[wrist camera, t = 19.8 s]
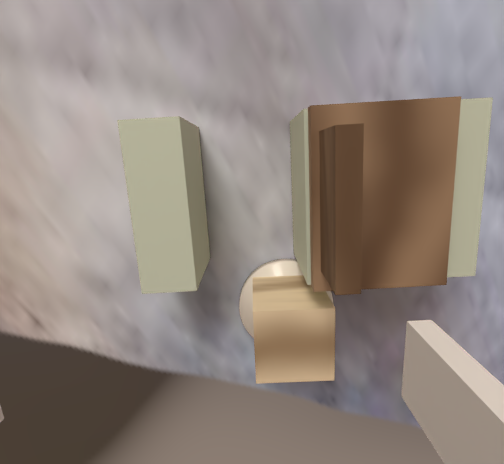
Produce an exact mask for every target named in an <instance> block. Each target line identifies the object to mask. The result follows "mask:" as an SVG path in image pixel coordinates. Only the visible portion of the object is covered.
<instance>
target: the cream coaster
mask: <svg viewBox="0 0 504 464" xmlns="http://www.w3.org/2000/svg"><path fill="white" fill-rule="evenodd" d="M297 275H303V273H302V271H301V269H300V266H299V264H298V262H297V260H295V259H277V260H273V261H270V262H267V263H265V264H263V265H261V266H260V267H258V268H257V269H255V270H254V271H253V272H252V273H251V274H250V275H249V277H248V278H247V280H246V281H245V283H244V285H243V287H242V290H241V294H240V302H239V311H240V317H241V320H242V323H243V325H244V327H245V328H246V330H247V331H248V333H249V334H250V335H251V336H252V337H253V338H254V326H253V277H273V276H297ZM326 292H327V294H328V296H329V298H330V300H331V301H332V303H333V297H332V293H331V291H326Z"/></svg>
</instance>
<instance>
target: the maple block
mask: <svg viewBox="0 0 504 464" xmlns="http://www.w3.org/2000/svg"><path fill="white" fill-rule="evenodd" d="M253 326H254V347H255V368H256V383H281V382H306V381H331V380H334V371H335V307H334V305H333V303H332V301H331V300H330V298H329V296H328V294H327V292H326V291H321V292H313V289H312V287H311V285H307V283H306V280H305V278H304V276H303V275H297V276H273V277H253Z"/></svg>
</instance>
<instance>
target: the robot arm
mask: <svg viewBox="0 0 504 464" xmlns="http://www.w3.org/2000/svg"><path fill="white" fill-rule="evenodd" d="M402 398H403V399H404V401H405V403H406V404H407V406H408V407H409V409H410V410H411V412H412V414H413V415H414V417H415V418H416V420H417V421H418V423H419V425H420V426H421V428H422V429H423V431H424V432H425V434H426V435H427V437H428V439H429V440H430V442H431V443H432V445H433V447H434V448H435V450H436V451H437V453H438V454H439V456H440V458H441V459H442V461H443V462H444V464H504V385H502V384H501V383H500V382H499V381H498V380H497V379H496V378H495V377H494V376H493V375H491V374H490V373H489V372H488V371H487V370H486V369H485V368H484V367H483V366H482V365H480V364H479V363H478V362H477V361H476V360H475V359H474V358H473V357H472V356H471V355H469V354H468V353H467V352H466V351H465V350H464V349H463V348H462V347H461V346H460V345H458V344H457V343H456V342H455V341H454V340H453V339H452V338H451V337H450V336H449V335H447V334H446V333H445V332H444V331H443V330H442V329H441V328H440V327H439V326H438V325H436V324H435V323H434V322H433V321H432V320H419V321H407V327H406V341H405V355H404V369H403V382H402ZM3 419H4V416H3V413H2V409H1V405H0V422H1V421H2V420H3Z"/></svg>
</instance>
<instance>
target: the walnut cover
mask: <svg viewBox="0 0 504 464" xmlns="http://www.w3.org/2000/svg"><path fill="white" fill-rule="evenodd" d="M460 106H461V97H445V98H429V99H412V100H396V101H379V102H362V103H346V104H329V105H313V106H310V107H308V145H309V200H310V254H311V287H312V289H313V292H321V291H333V292H334V293H335V295H347V294H361V289H377V288H396V287H414V286H433V285H446V283H447V270H448V258H449V245H450V232H451V220H452V207H453V194H454V182H455V169H456V157H457V144H458V131H459V119H460Z"/></svg>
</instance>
